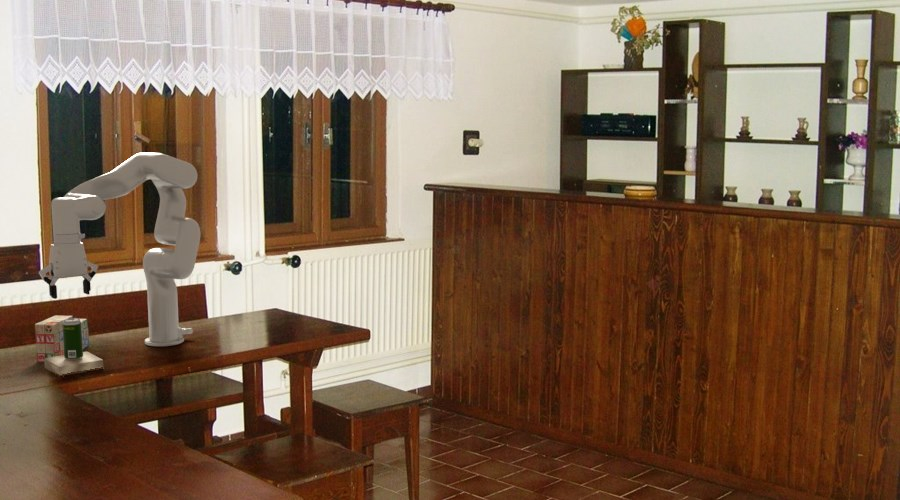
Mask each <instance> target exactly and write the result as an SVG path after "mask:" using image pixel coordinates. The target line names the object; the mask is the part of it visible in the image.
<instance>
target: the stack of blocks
mask: <svg viewBox="0 0 900 500" xmlns="http://www.w3.org/2000/svg"><path fill="white" fill-rule="evenodd" d="M69 318H74V317H73V315H58V314H57V315H53V316H51V317H48V318H46V319H44V320H42V321H39V322H36V323H35V324H34V329H35V330H34V331H35V335H34V336H35V347H36V362H37V363H45V362H44V358H49V357H55V356H62V355H64V344H63V327H62V323H63V320H65V319H69ZM79 319H80V321H81V325H82V342H83V350H84V349H85V348H88V347H89V346H90V339H89V327H88V326H89V325H88V318H79Z"/></svg>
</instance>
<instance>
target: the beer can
mask: <svg viewBox="0 0 900 500" xmlns="http://www.w3.org/2000/svg"><path fill="white" fill-rule="evenodd" d="M80 319H81V318H77V317H73V318H69V319H65V320H63V323H62V327H63V344H64V358H65V360H67V361H77V360H81V359H82V358H83V352H84V349H83V342H82V325H81V321H80Z"/></svg>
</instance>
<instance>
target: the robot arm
mask: <svg viewBox="0 0 900 500" xmlns="http://www.w3.org/2000/svg"><path fill="white" fill-rule="evenodd" d="M148 180H151V181H152V183H153V185H154V186H155V187H156V188H155V189H156V190H157V192H158V195H159V208H158V211H157V217H156V222H155V226H154V233H153V234H154V235H153V237H154V239H155V241H157V243H159V244H162V245H167V246H174V249H173V248H164V247H154V248H151V249H149V250H148V251H147V252H146V253H145V254H144V256H143V258H142V269H143V273H144V277H145V282H146V293H147V311H148V313H147V315H148V333H149V334H148V336H149V337H147V338H145V339H144V344H145V345H146V346H149V347H169V346H176V345H180V344H182V343H184V341H185V338H184V336H185V335H189V334H190V335H191V334H193V333H194V329H193V328H192V327H187V328H186V327H180V326H179V324H180V323H179V306H178V304H179V302H178V301H179V300H178V286H177V284H176V281H175V280H186V279H188V278H189V277H190V276H191V275H192V274H193V271H194V268H195V265H196V260H197V256H198V251H199V247H200V241H201V228H200V224H199V223H198V222H197V221H196V219H193V218H191V217H186V216H185V215H186V209H187V198H186V194H185V192H184V191H183V189H184V190H186V189H190V188H192V187H193V186H194V185H195V184H196V182H197V180H198V171H197V169H196V168H195V166H194V165H193V164H191V163H190V162H188V161H185V160H183V159H179V158H176V157H173V156H171V155H168V154H164V153H161V152H138V153H135V154H134V155H132V156H131V157H130V158H128V159H127V160H125V161H124V162H122V163H121V164H120V165H118V166H116V167H115V168H114V169H112V170H111V171H110V172H109V171H108V172H107V173H104V174H101V175H99V176H96V177H95V178H92V179H89V180H87V181H84V182H82V183H80V184H78V185H76V187H74V188H73V189H71V190H69V191H68V192H67V193H66V194H65V195H64V196H63V197H61V196H60V197H55V198H53V199H52V200H51V202H50V204H51V206H50V207H51V218H52V219H51V221H52V222H51V223H52V235H53V243H51V244H50V248H49V258H48V259H49V260H48V261H49V262H48V265H46V266H45V267H43V268H42V269H40V270H39V271H38V275H39V276H40V277H41V280H43V282H45V283H46V284H47V285H48V290H49V291H48V292H49V296H50V297H51V298H52V299H55V300H56V299H58V290H57V289H58V287H57V285H56V283H57V281H58V280H59V279H67V278H74V277H76V278H77V277H82V278H83V280H82V290H83V291H82V292H83V294H85V295H90V292H91V290H92V289H91V288H92V287H91V281H92V280H93V278H94V276H95V275H96V274H97V271H98V268H99V265H98V264H95V263H93V262H90V261H89V260H88V259H87V254H86V250H85V246H84V242H82V239H85V238H86V234H85V233H81V228H80V227H81V226H80V221H84V220H85V221H94V220H98V219H100V218H101V217H103V216H104V214H105V213H106V209H107V206H106V202H105V201H106V200H112V199H117V198H120V197H123V196H127V195H128V194H130V193H131V192H133V191H134V190H135V189H136V188H138V187H139V186H140V185H142V184H144V183H145V182H146V181H148ZM104 200H105V201H104ZM88 267H90V271H89V272H88ZM48 272H49V276H50V277H48V276H47V273H48Z"/></svg>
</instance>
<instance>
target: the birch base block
mask: <svg viewBox="0 0 900 500" xmlns="http://www.w3.org/2000/svg"><path fill="white" fill-rule="evenodd" d="M43 363H44V369H46V368H47V369H49V370H52V371H53V372H55V373H57V374H59V375H62V374H67V373H71V372H77V371H84V370H90V369H95V368H101V367H103V368H104V359H102V358H100V357H98V356H96V355H95V354H93V353H91V352H89V351H83V358H82V359H81V360H77V361H67V360H65V358H64V355H62V356H55V357H49V358H44V362H43ZM47 369H46V370H47ZM49 370H48V371H49Z"/></svg>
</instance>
